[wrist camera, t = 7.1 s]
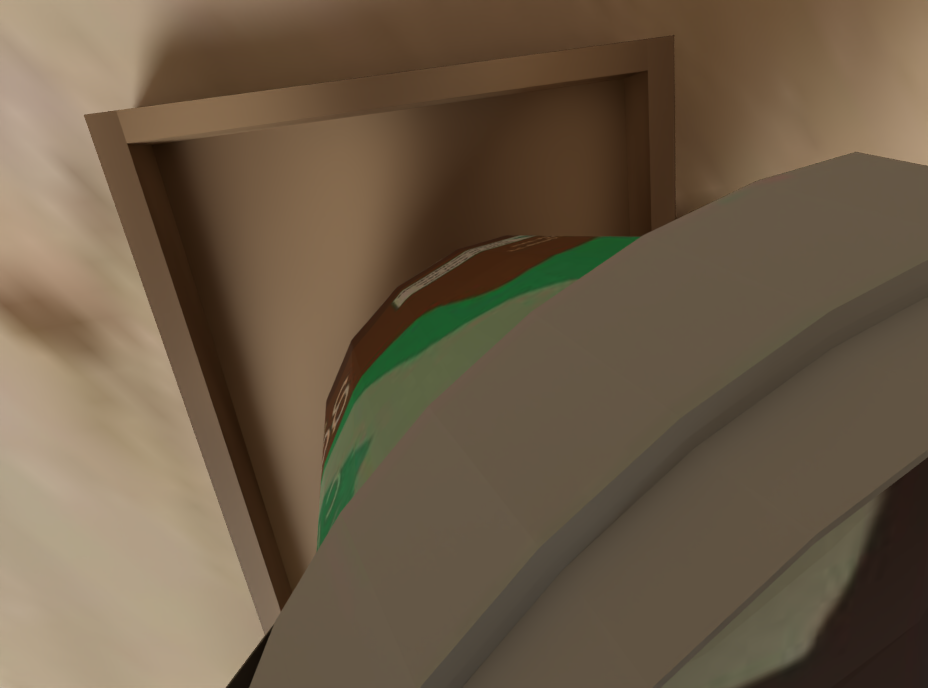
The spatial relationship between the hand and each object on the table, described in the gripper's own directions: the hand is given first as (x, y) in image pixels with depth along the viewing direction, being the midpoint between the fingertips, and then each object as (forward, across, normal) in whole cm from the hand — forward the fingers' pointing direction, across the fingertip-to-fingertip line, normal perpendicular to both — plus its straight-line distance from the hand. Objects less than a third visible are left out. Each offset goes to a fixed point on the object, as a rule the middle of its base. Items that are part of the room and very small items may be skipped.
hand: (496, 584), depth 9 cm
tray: (+7, 0, 0) cm, 7 cm away
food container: (+5, +1, 0) cm, 5 cm away
